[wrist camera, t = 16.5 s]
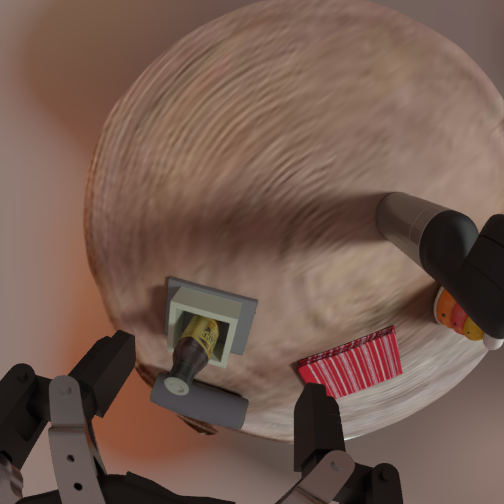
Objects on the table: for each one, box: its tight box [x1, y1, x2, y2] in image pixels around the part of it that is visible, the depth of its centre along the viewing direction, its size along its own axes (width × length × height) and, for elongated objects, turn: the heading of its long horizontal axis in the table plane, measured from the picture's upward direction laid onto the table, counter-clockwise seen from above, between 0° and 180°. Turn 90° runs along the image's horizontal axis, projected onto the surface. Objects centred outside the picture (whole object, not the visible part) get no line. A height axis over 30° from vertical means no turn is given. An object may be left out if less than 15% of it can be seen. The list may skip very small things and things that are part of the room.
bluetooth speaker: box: [150, 373, 249, 429], centre depth 58 cm, size 23×9×10 cm, turn 75°
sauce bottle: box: [164, 314, 221, 395], centre depth 45 cm, size 7×6×20 cm
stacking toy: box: [434, 286, 504, 350], centre depth 39 cm, size 14×14×20 cm
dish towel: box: [297, 326, 403, 399], centre depth 56 cm, size 17×24×3 cm
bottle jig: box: [164, 277, 258, 368], centre depth 52 cm, size 18×14×7 cm
